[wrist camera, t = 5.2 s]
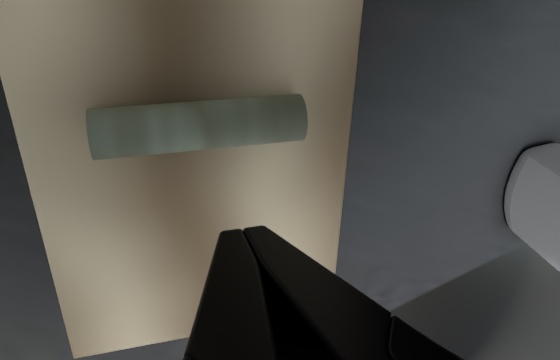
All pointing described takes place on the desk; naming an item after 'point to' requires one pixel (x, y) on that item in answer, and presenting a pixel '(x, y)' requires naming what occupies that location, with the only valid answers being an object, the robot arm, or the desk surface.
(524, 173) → the eye dropper bottle
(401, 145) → the desk surface
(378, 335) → the robot arm
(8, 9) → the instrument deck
